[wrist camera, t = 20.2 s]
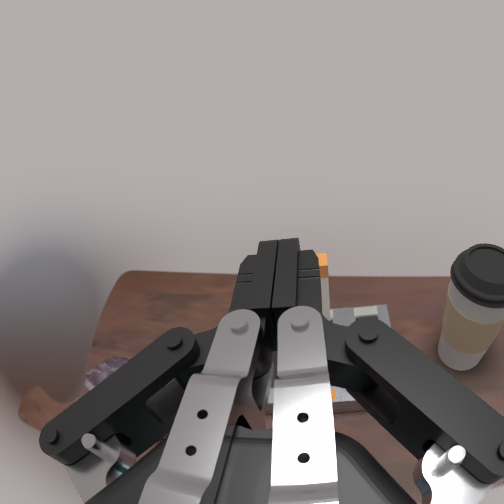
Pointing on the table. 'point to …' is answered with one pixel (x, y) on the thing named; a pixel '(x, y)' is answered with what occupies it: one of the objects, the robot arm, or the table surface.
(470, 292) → the coffee cup
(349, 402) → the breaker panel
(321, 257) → the orange-capped grey post
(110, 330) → the table surface
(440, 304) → the table surface
